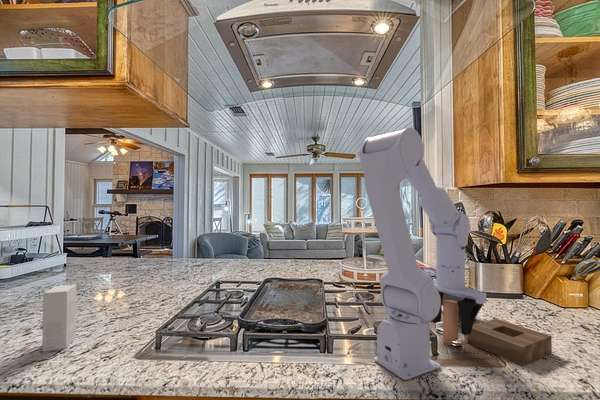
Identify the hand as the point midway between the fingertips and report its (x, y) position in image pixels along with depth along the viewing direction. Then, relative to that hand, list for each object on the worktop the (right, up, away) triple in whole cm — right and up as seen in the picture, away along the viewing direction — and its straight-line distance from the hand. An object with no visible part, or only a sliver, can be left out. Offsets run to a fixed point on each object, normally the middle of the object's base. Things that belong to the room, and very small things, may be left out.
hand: (450, 327), depth 66 cm
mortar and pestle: (+10, -4, +16) cm, 19 cm away
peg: (0, -3, 0) cm, 3 cm away
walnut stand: (+11, -3, -2) cm, 12 cm away
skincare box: (-85, -3, -2) cm, 85 cm away
